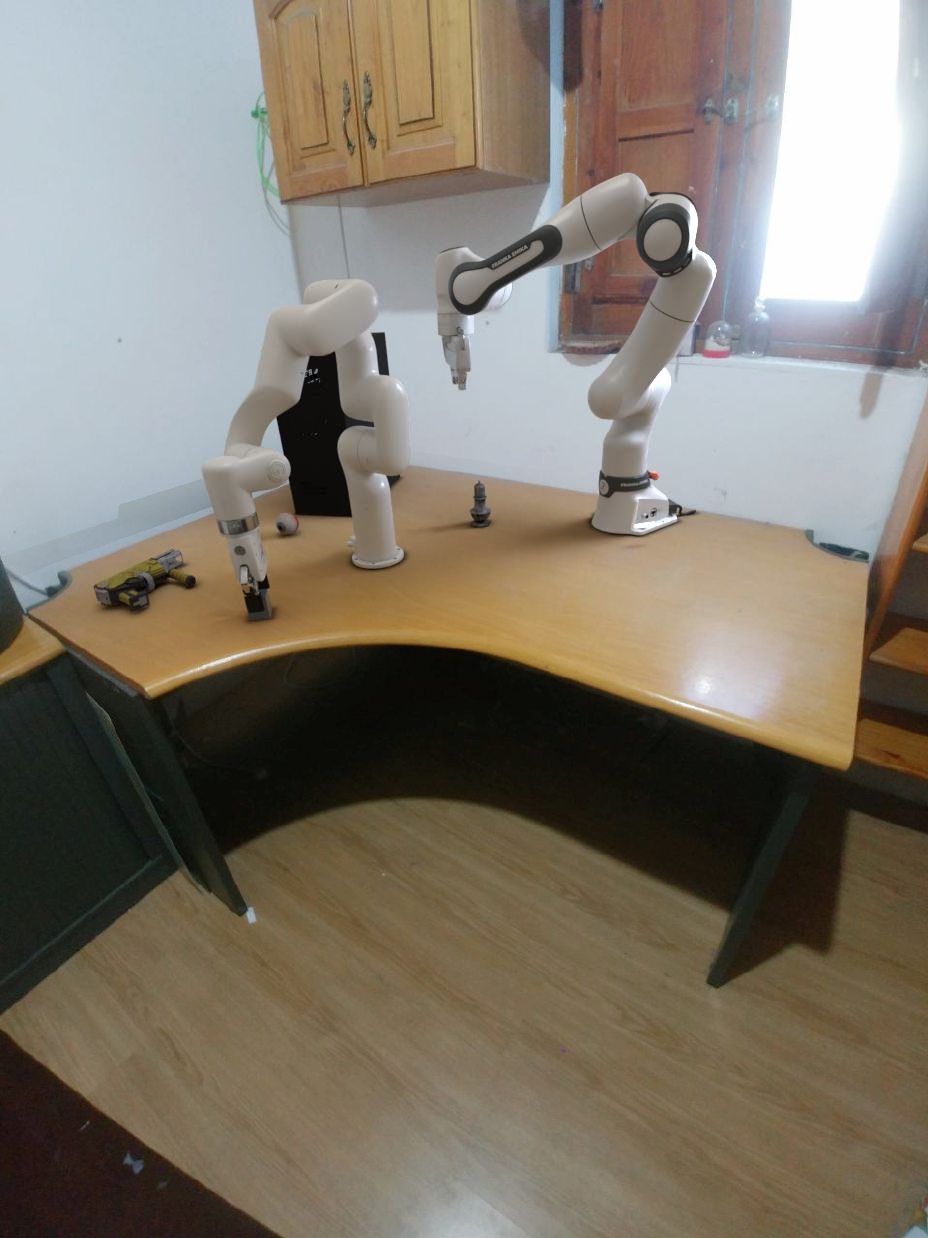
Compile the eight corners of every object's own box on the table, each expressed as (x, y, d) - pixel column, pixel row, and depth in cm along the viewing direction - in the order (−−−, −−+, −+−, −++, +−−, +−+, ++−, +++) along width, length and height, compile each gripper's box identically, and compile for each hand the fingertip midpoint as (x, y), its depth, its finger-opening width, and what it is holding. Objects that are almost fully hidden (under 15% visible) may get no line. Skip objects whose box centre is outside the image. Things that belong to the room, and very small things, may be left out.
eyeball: (273, 537, 164) (268, 516, 161) (287, 528, 169) (282, 508, 166) (291, 539, 161) (286, 518, 158) (305, 530, 166) (301, 510, 163)
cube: (249, 620, 124) (244, 599, 122) (252, 611, 128) (247, 590, 125) (270, 618, 125) (265, 597, 122) (272, 609, 128) (267, 588, 126)
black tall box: (359, 516, 174) (334, 346, 152) (295, 513, 179) (262, 349, 156) (400, 477, 206) (384, 331, 183) (345, 476, 210) (323, 334, 188)
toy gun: (219, 557, 146) (169, 546, 150) (142, 598, 126) (87, 585, 129) (222, 574, 148) (172, 563, 152) (147, 618, 128) (92, 604, 132)
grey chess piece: (489, 527, 162) (488, 483, 156) (468, 526, 163) (466, 483, 157) (493, 519, 167) (491, 476, 161) (472, 518, 168) (470, 476, 162)
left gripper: (252, 537, 109) (274, 618, 118) (263, 505, 124) (281, 579, 133) (209, 542, 108) (235, 623, 117) (225, 509, 123) (246, 583, 132)
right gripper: (476, 328, 137) (479, 392, 144) (461, 322, 154) (464, 379, 161) (449, 330, 136) (453, 394, 143) (437, 324, 154) (441, 381, 161)
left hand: (259, 600), depth 125 cm, fingers open, 9 cm apart
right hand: (459, 386), depth 152 cm, fingers open, 8 cm apart
